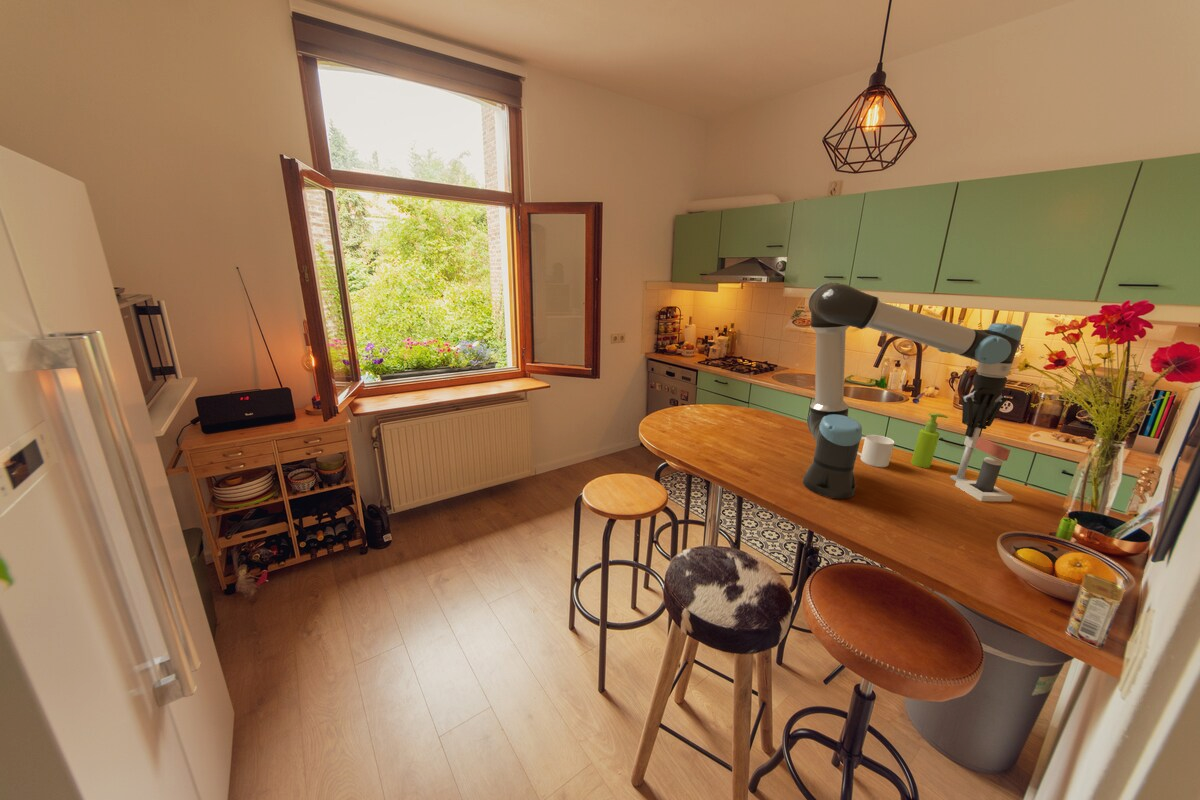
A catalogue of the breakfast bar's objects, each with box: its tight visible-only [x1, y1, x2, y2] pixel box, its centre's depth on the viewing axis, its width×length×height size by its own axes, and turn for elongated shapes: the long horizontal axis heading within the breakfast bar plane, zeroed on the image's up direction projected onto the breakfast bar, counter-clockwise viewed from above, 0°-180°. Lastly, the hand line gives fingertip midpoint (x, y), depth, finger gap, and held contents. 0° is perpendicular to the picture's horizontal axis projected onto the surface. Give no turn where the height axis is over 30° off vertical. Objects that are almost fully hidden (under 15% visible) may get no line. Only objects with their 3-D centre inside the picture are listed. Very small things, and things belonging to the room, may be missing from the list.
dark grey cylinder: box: [975, 456, 1003, 492], centre depth 138 cm, size 4×4×12 cm
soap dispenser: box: [910, 412, 949, 469], centre depth 157 cm, size 6×7×20 cm
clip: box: [974, 436, 1011, 462], centre depth 139 cm, size 3×14×4 cm, turn 2°
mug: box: [857, 434, 895, 468], centre depth 161 cm, size 12×9×9 cm
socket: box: [950, 445, 1014, 503], centre depth 141 cm, size 10×16×13 cm, turn 2°
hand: (969, 445), depth 138 cm, fingers closed
